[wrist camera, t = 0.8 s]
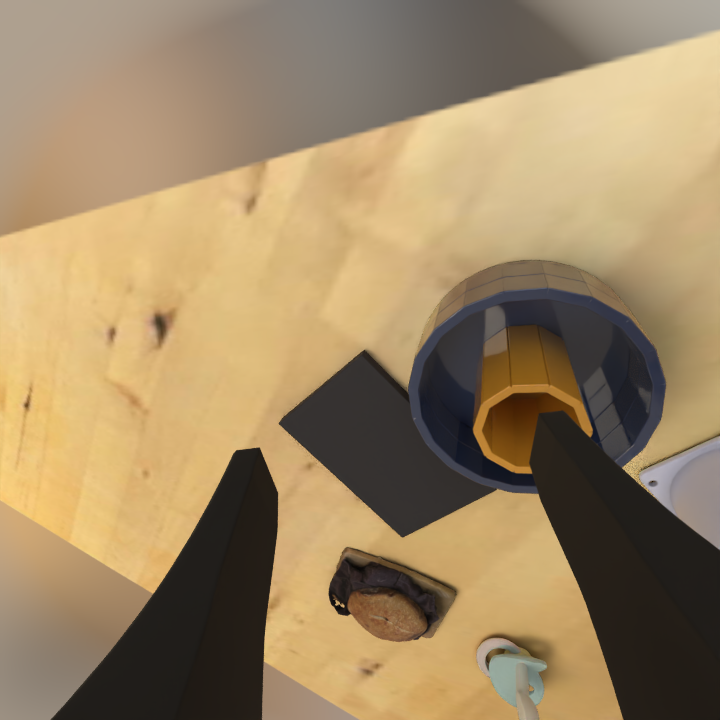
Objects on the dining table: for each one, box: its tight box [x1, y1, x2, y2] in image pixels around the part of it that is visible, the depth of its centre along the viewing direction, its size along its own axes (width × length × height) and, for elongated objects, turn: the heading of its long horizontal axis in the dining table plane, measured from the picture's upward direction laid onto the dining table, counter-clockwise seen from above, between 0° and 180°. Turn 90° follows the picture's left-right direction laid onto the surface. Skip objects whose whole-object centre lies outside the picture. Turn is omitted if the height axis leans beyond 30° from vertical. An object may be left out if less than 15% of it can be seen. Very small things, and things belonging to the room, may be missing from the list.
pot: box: [408, 260, 666, 494], centre depth 27 cm, size 13×13×5 cm
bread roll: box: [329, 548, 456, 642], centre depth 41 cm, size 11×8×4 cm
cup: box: [473, 325, 593, 474], centre depth 26 cm, size 5×6×7 cm
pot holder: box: [279, 351, 497, 537], centre depth 35 cm, size 14×10×1 cm
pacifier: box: [476, 638, 547, 720], centre depth 40 cm, size 7×6×6 cm
